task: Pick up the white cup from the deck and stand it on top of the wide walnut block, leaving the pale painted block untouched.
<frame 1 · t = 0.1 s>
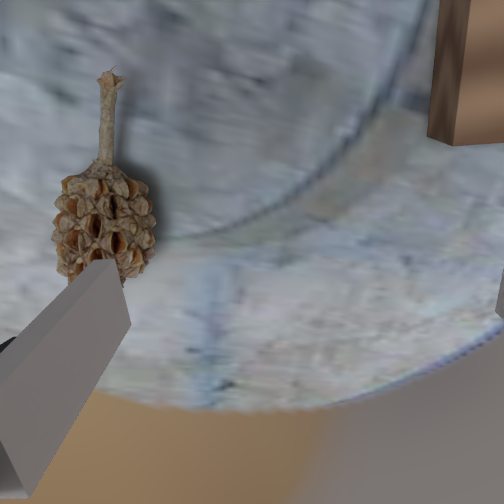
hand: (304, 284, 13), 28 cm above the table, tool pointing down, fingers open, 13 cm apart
pine cone: (123, 178, 41), on the table
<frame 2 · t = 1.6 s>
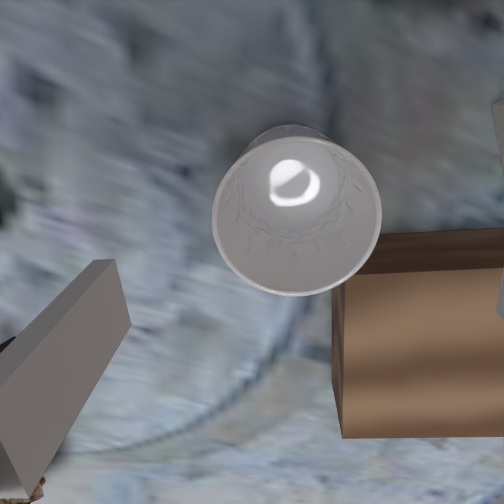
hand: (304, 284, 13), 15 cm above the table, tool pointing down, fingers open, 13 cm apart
pine cone: (14, 402, 38), on the table
walnut block: (419, 312, 31), on the table
white cup: (288, 172, 27), on the table
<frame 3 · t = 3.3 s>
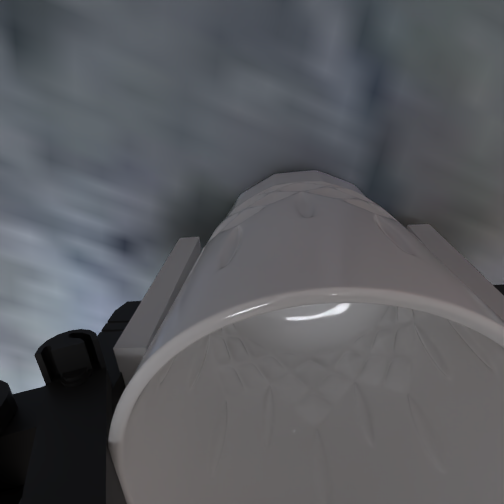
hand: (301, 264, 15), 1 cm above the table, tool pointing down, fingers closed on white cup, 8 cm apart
white cup: (299, 249, 16), on the table, touching gripper
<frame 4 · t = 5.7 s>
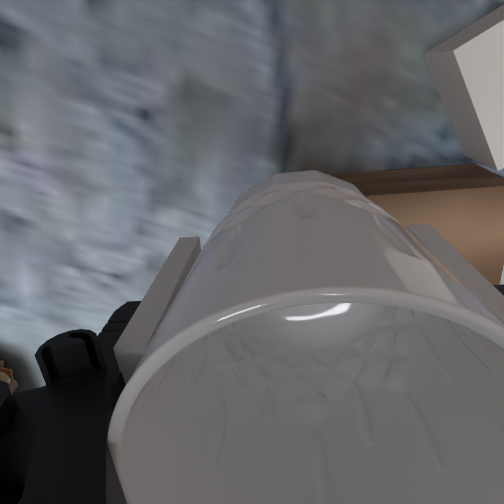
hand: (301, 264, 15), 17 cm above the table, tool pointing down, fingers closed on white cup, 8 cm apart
walnut block: (374, 253, 33), on the table
white cup: (299, 249, 16), point 15 cm above the table, touching gripper
pale block: (500, 74, 27), on the table
when the fingers open (8 cm above the table, at t = 8.3 s): white cup stays where it is, resting on walnut block.
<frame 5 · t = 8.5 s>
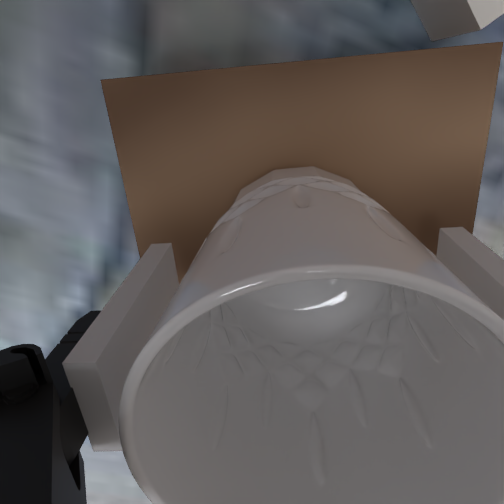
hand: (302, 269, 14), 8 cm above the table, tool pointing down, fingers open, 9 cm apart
walnut block: (293, 203, 22), on the table
white cup: (297, 242, 17), point 6 cm above the table, touching walnut block
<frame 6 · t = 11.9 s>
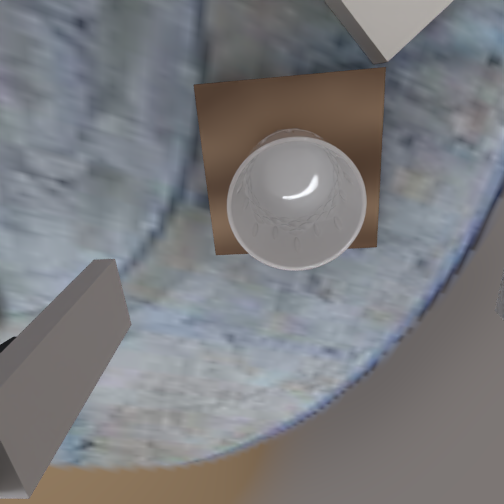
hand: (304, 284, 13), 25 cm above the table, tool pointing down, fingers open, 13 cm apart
walnut block: (289, 158, 36), on the table
white cup: (290, 170, 31), point 6 cm above the table, touching walnut block
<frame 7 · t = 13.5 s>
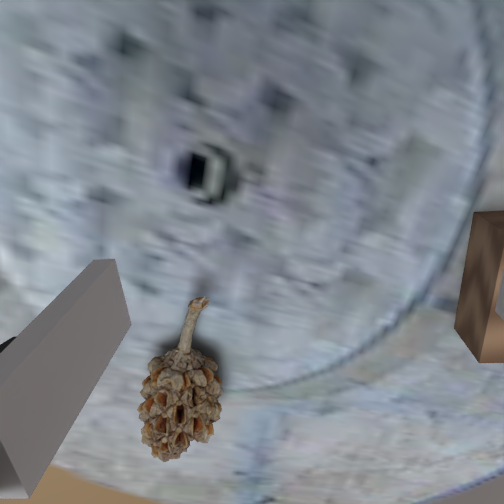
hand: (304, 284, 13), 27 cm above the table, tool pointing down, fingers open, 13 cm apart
pine cone: (192, 346, 48), on the table
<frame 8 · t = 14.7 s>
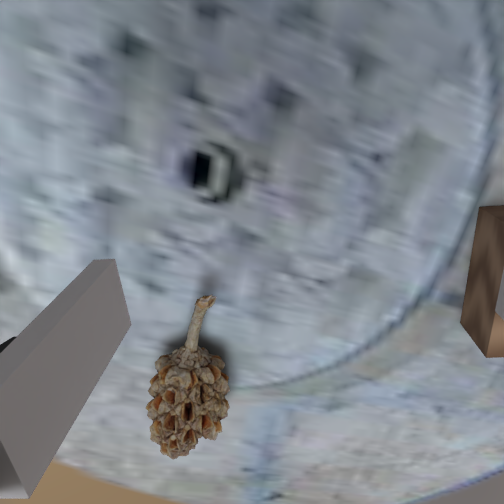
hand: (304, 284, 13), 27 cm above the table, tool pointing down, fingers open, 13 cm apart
pine cone: (198, 344, 48), on the table
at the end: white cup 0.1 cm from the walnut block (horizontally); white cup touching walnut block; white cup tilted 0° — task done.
